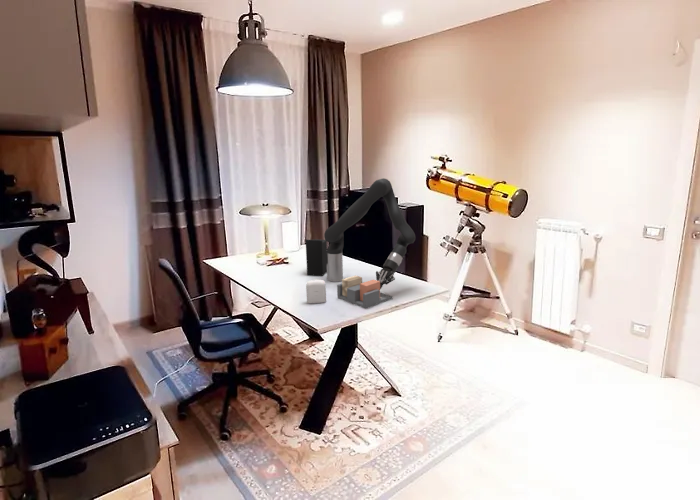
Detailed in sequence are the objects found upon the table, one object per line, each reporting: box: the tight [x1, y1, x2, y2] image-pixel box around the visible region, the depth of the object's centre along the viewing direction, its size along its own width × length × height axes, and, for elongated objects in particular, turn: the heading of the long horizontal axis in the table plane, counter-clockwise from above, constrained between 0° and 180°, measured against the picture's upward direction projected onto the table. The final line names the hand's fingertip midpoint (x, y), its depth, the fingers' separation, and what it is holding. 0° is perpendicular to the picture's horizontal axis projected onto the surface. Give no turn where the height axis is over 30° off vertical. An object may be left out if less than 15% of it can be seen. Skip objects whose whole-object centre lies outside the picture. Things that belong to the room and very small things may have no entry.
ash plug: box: [341, 275, 363, 297], centre depth 231 cm, size 5×10×9 cm, turn 132°
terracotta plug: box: [360, 279, 381, 301], centre depth 223 cm, size 5×10×9 cm, turn 133°
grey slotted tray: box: [336, 282, 393, 310], centre depth 229 cm, size 22×20×8 cm
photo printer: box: [305, 279, 327, 304], centre depth 225 cm, size 10×4×12 cm, turn 96°
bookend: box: [305, 238, 328, 277], centre depth 278 cm, size 23×11×24 cm, turn 168°
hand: (377, 289), depth 227 cm, fingers closed
